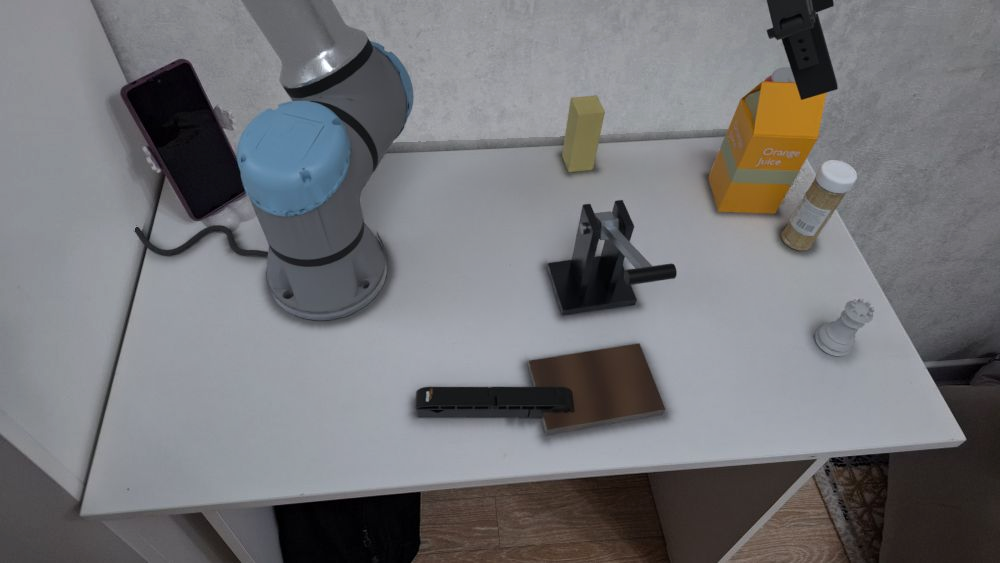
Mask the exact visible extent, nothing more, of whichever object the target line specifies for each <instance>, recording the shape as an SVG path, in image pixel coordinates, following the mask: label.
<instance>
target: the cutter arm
mask: <svg viewBox="0 0 1000 563" xmlns="http://www.w3.org/2000/svg"><path fill="white" fill-rule="evenodd" d="M594 214H595V216H596V219H597V221H598V224H599V226H600V229H601V234H600V238H599V241H605V240H609V239H610V240H611V242H612V243H613V244H614V245H615V246H616V247H617V248H618V249H619V251H620V252H621V253H622V254H623V255H624V256H625V259H626V260H627V261H628V262H629V263H630V264H631V266H633V268H629V269H624V270H625V272H624V279H625V282H626V284H627V285H631V286H633V285H640V284H647V283H654V282H660V281H667V280H674V279H676V277H677V274H678V271H677V267H676V265H675V264H674V263H664V264H657V265H652V264H651V262H649V260H647V259H646V258H645V257H644V255H643V254H642V253H641V252H640V251H639V250H638V249H637V247H635V246H634V244H632V243H631V241H630V242H629V241H628V240H627V239H626V238H625V237H624V235H623V234H622V233H621V232H620V231H619V219H618V218H617V217H616V216H615V215H614V214H613V213H612V210H611V211H602V212H601V211H600V212H594Z"/></svg>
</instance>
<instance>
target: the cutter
mask: <svg viewBox="0 0 1000 563" xmlns="http://www.w3.org/2000/svg"><path fill="white" fill-rule="evenodd" d="M611 212H612V213H613V214H614V215H615V216H616V217H617V218H618V219H619V231H620V232H621V233H622V234H623V235H624V237H625V238H626V239H627V240H628V241H629V242H630V243H631V239H632V236H633V232H634V228H635V224H634V221H633V220H632V218H631V215H630V213H629V211H628V208H627V206H626V204H625V201H624V200H623V199H618V200H614V204H613V207H612V210H611ZM594 213H595V211H594V209H593V206H592V204H591V203H585V204H582V206H581V212H580V216H579V221H578V225H577V230H576V236H575V239H574V240H575V241H574V246H573V251H572V256H571V259H568V260H567V259H565V260H560V261H559V260H558V261H552V262H547V265H546V270H547V273H548V276H549V279H550V283H551V286H552V289H553V292H554V295H555V299H556V301H557V306H558V308H559V311H560V314H561V316H562V317H563V316H570V315H577V314H583V313H585V314H586V313H591V312H598V311H604V310H610V309H619V308H624V307H632V306H635V305H636V303H637V297H636V294H635V292H634V289H633V287H632V285H627V284H626V282H625V279H624V272H625V270H626V269H625V267H624V261H625V259H626V257H625V256H624V255H623V254H622V253H621V252H620V251H619V249H618V248H617V247H616V246H615V245H614V244H613V243H612V242H611V240H610V239H609V240H603V241H604V242H603V245H602V249H601V251H600V252H601V253H600V255H597V256H596V253H597V249H598V246H599V242H600V239H599V238H600V234H601V229H600V226H599V224H598V221H597V219H596V216H595V214H594Z"/></svg>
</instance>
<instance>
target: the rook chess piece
mask: <svg viewBox="0 0 1000 563" xmlns="http://www.w3.org/2000/svg"><path fill="white" fill-rule="evenodd" d="M871 305H872V303H871V302H870V301H869V300H867V301H866V302H864V298H862V297H861V298H860V297H859V298H858V299H857V298H855V299H853V300H848V301H847V302H846V303H845V305H844V309H843V310H842V311H841V313H840V316H839V317H838V318H837V319H836V320H832V321H830V322H825V323H824V324H822V325H821V326H820V327H819V328H818V329H817V330H816V332H815V335H814V338H815V342H816V344H817V345H818V348H819V349H820V350H822V351H823V353H826V354H828V355H829V356H835V357H843V356H844V357H845V356H846V355H848V354H849V353H850V352H851V351H852V349H854V346H855V343H856V334H857V333H858V330H859V329H862V328H863V327H865V324H867V323H870V322H872V321H873V319H874V312H875V307H874V306H871Z"/></svg>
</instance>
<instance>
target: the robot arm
mask: <svg viewBox="0 0 1000 563" xmlns="http://www.w3.org/2000/svg"><path fill="white" fill-rule="evenodd" d="M240 2H241V3H242V5H243V7H245V9H246V10H247V12H248V14H249V15H250V17H251V18H252V20H253V21H254V22H255V24H256V25H257V27H258V28H259V30H260V32H261V33H262V34H263V36H264V37H265V40H267V42H268V44H269V46H271V48H272V49H273V51H274V52H275V54H276V55H277V57H278V59H279V60H280V61H281V68H280V73H279V77H278V79H279V80H278V81H279V84H280V85H281V86H282V88H283V90H284V91H285V93H286V94H287V95H288V97H289V98H290V100H291V101H286V102H281V103H279V104H278V107H277V108H276V109H272V108H270V107H269V108H266V109H265V110H263V111H261V112H260V113H259V114H258V115H256V116H254V118H253V119H252V120H250V121H249V122H248V124H246V127H245V128H243V131H242V132H241V135H240V137H239V140H238V143H237V148H236V161H237V166H238V169H239V171H240V179H241V182H242V187H243V190H244V191H245V193H246V195H247V196H248V198H249V201H250V202H251V205H252V208H253V210H254V213H255V215H256V218H257V220H258V222H259V224H260V227H261V229H262V232H263V234H264V236H265V240H266V241H267V244H268V249H267V250H268V251H267V250H259V249H242V248H240V247H238V246H237V244H236V242H235V238H234V235H233V233H232V231H231V229H230V228H228V227H227V226H225V225H221V224H217V225H216V224H214V225H209V226H207V227H205V228H203V229H201V230H200V231H198V232H197V233H196V234H194V235H193V236H192V237H191V238H189V239H188V240H187V241H186V242H184V243H183V244H181V245H179V246H177V247H175V248H172V249H164V248H163V249H162V248H159V247H157V246H155V244H152V242H151V241H150V240H149V239H148V237H146V235H145V234H144V232H143V231H142V229H141V228H140V227H139V226H138V227H136V228H135V231H134V233H135V234H136V236H137V237H138V238H139V240H140V241H141V243H142V244H143V245H144V246H145V247H146V248H147V249H149V251H151V252H153V253H155V254H157V255H160V256H174V255H177V254H180V253H181V252H182V253H183V252H185V251H186V250H187V249H189V248H190V247H191V246H193V245H194V244H195V243H197V242H198V241H200V239H201V238H203V237H205V236H206V235H207V234H209V233H212V232H223V233H224V234H225V235H226V238H227V242H228V245H229V247H230V249H231V250H232V251H233V252H234V253H236V254H238V255H240V256H255V257H264V258H267V262H266V270H265V274H266V275H265V276H266V277H265V278H266V282H267V285H268V287H269V290H270V292H271V294H272V297H273V298H274V300H275V301H276V303H277V304H278V305H279V307H281V308H282V309H283V310H284V311H286V312H288V313H289V314H290V315H293V316H296V317H298V318H301V319H305V320H310V321H331V320H338V319H340V318H344V317H347V316H350V315H352V314H355V313H356V312H358V311H360V310H361V309H363V308H365V307H366V306H367V305H368V304H370V303H371V302H372V301H373V300H374V299H375V298H376V297H377V296H378V294H379V293H380V291H381V290H382V288H383V286H384V284H385V281H386V278H387V272H388V271H387V270H388V268H387V267H388V266H387V265H388V264H387V259H386V254H385V253H387V249H386V246H385V244H384V242H383V240H382V238H381V236H380V234H379V232H378V230H376V231H375V232H376V235H377V237H376V235H375V234H374V233H373V231H372V230H371V229H370V227H369V225H367V224H366V222H365V221H364V215H363V211H362V210H363V209H362V205H361V200H360V199H361V195H362V192H363V190H364V188H365V187H366V185H367V184H368V182H369V180H370V179H371V177H372V175H373V174H374V173H375V171H376V170H377V168H378V166H379V165H380V163H381V162H382V160H383V159H384V158H385V155H386V154H387V152H388V151H389V149H390V148H391V146H392V145H393V143H394V141H395V140H397V139H398V138H399V136H400V135H401V134H402V133H403V131H404V129H405V126H406V125H407V121H408V118H409V117H410V115H411V112H412V110H413V107H414V106H413V105H414V87H413V83H412V80H411V77H410V75H409V72H408V70H407V69H406V67H405V65H404V64H403V62H402V61H401V59H399V57H398V56H397V55H396V54H395V53H394V52H392V51H387V50H385V46H384V45H382V44H380V43H378V42H376V41H373V40H370V39H369V37H368V35H367V33H366V32H365V31H364V30H362V29H358V28H356V27H353V26H349V25H348V24H346V22H345V21H344V19H343V17H342V16H341V13H340V11H339V10H338V8H337V6H336V5H335V2H334V1H333V0H240ZM766 3H767V9H768V12H769V17H770V21H771V24H772V27H771V28H767V29H766V34H767V38H768V39H769V40H772V39H775V40H777V41H780V40H781V42H782V45H783V48H784V52H785V54H786V57H787V61H788V63H789V67H791V70H792V73H793V76H794V79H795V82H796V86H797V89H798V92H799V95H800V98H801V100H803V99H807V98H810V97H813V96H817V95H820V94H823V93H826V94H827V93H830V92H833V91H834V92H835V91H837V90H838V89H839V87H838V81H837V78H836V73H835V69H834V67H833V63H832V60H831V56H830V53H829V48H828V46H827V41H826V38H825V34H824V31H823V27H822V23H821V20H820V17H819V12H822V11H825V10H827V9H830V8H833V7H834V6H835V3H834V0H766Z"/></svg>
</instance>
